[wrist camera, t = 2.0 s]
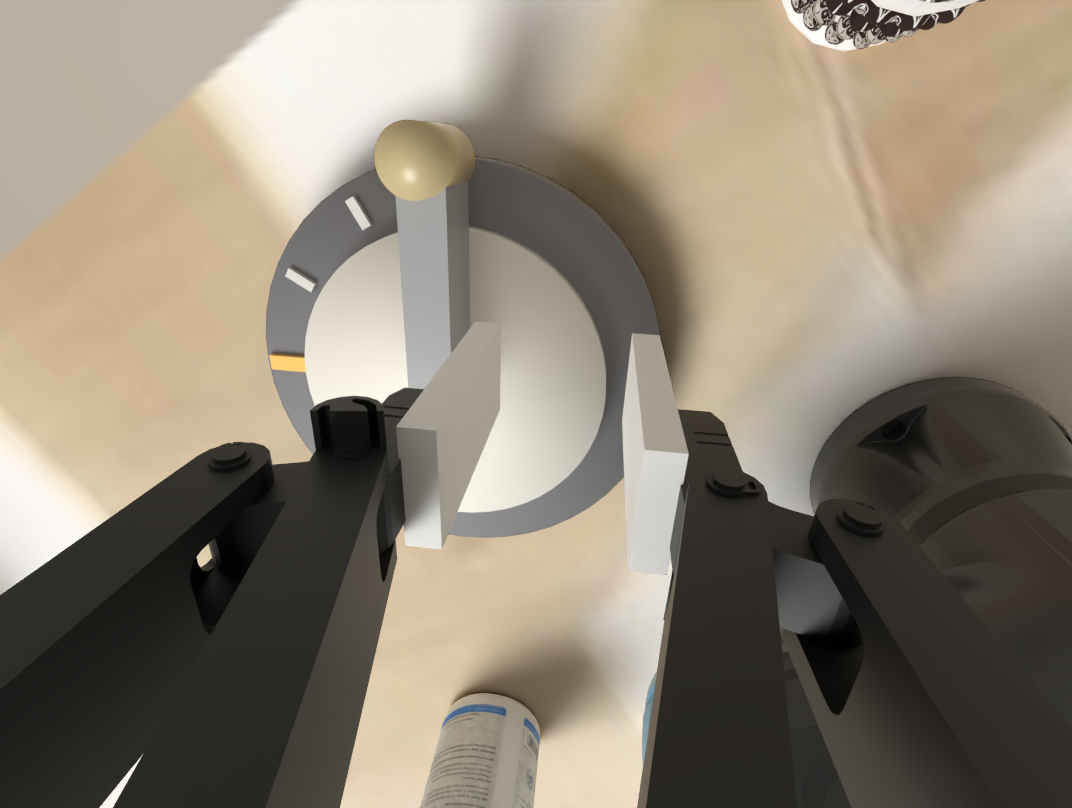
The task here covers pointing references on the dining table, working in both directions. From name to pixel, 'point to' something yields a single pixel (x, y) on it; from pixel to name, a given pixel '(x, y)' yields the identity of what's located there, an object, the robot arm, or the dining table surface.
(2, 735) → the robot arm
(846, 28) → the decorative candle
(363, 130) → the dining table surface
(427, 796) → the supplement tub
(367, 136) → the dining table surface
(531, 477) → the dial
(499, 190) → the dial base
